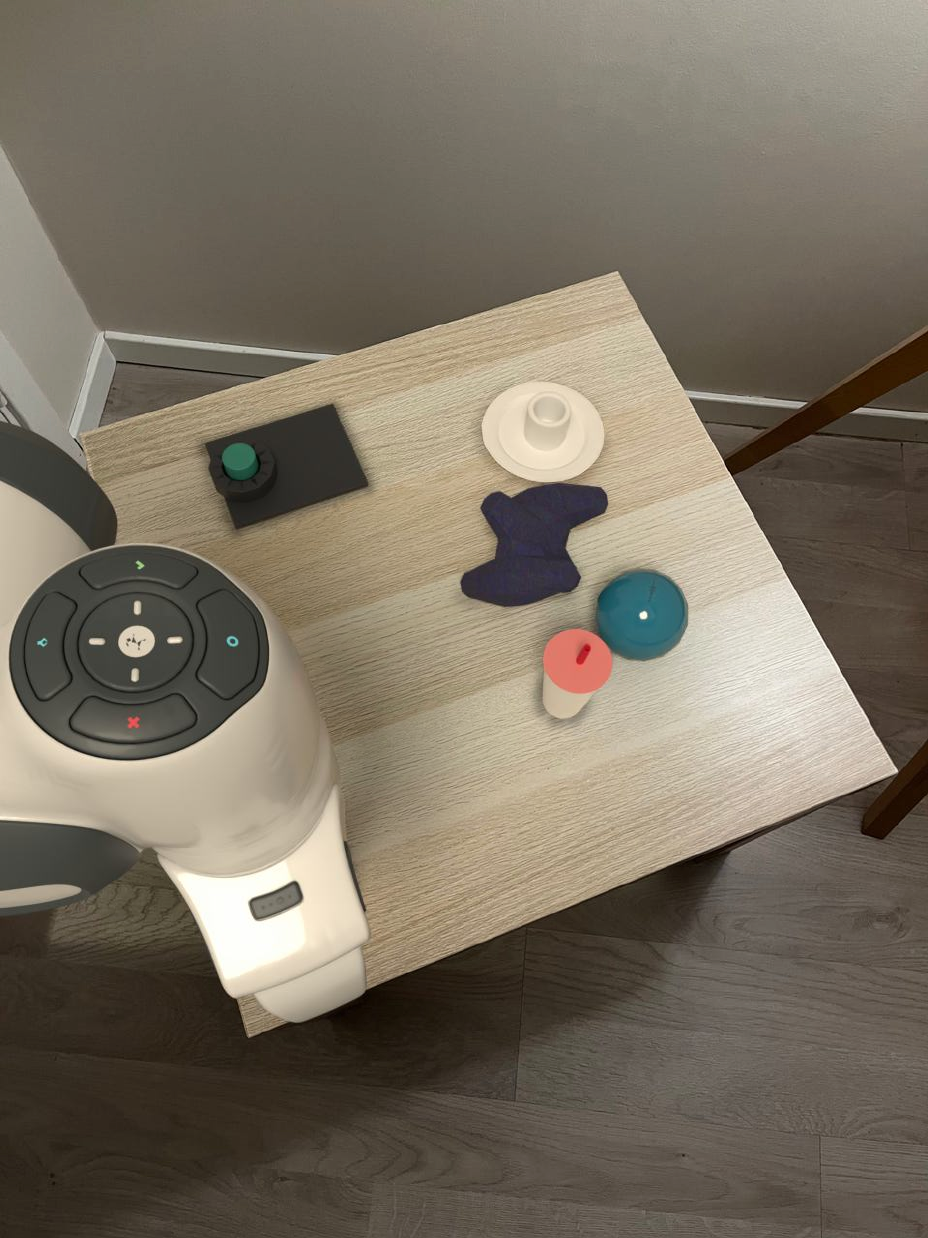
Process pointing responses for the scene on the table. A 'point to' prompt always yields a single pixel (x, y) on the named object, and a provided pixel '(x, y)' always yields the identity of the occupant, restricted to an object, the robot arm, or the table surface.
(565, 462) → the candle holder
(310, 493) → the black button base plate
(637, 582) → the ball
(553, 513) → the tetrapod
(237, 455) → the button
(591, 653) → the cup
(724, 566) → the table surface
